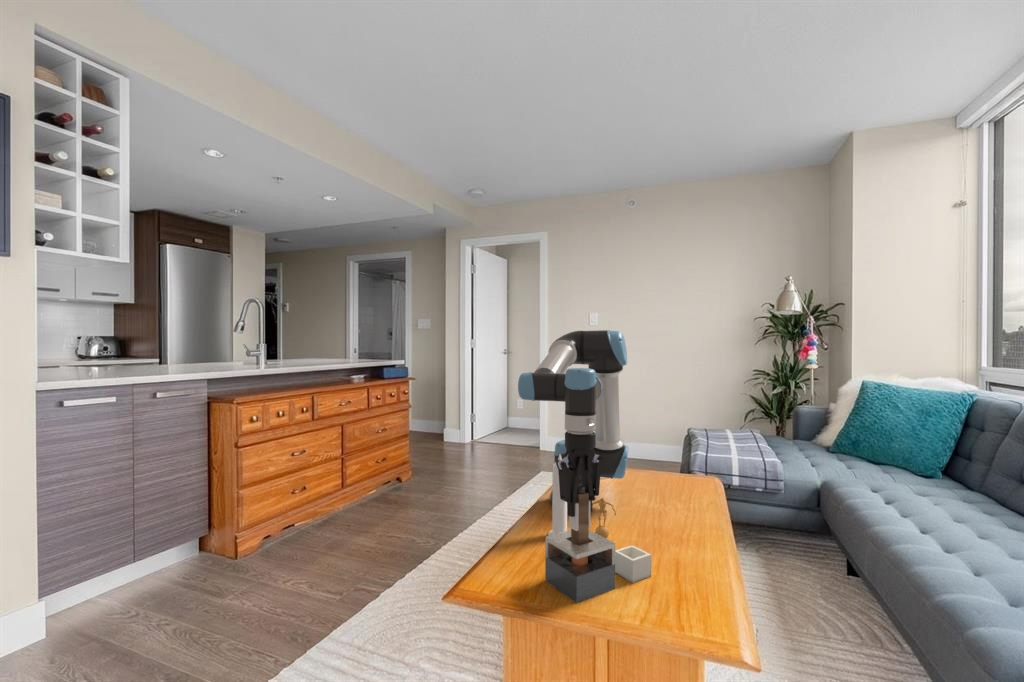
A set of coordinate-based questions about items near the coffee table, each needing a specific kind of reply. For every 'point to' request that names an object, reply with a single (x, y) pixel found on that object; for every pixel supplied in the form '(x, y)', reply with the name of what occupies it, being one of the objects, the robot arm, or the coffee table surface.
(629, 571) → the pen cup
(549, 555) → the grey box with hole
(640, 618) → the coffee table surface
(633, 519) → the coffee table surface
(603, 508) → the figurine
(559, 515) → the candle
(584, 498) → the wood knob block
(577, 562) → the button
